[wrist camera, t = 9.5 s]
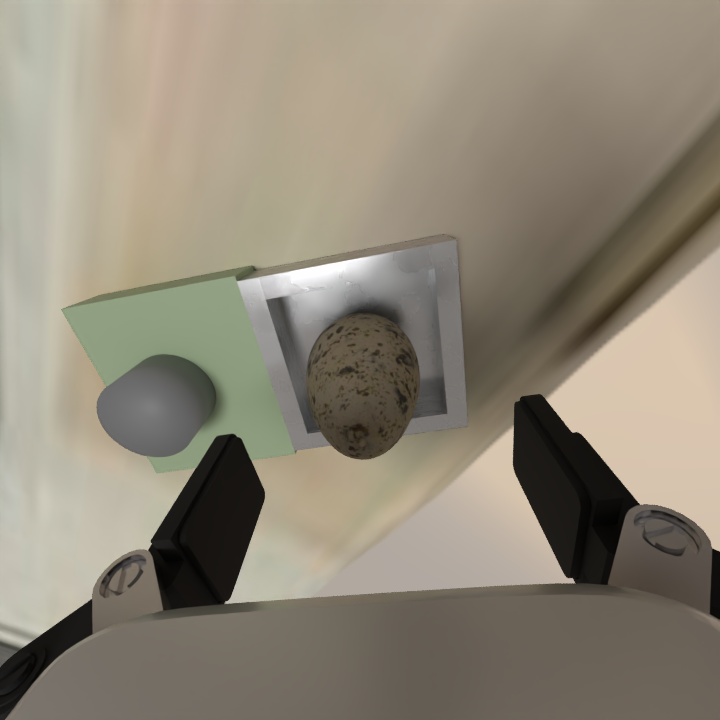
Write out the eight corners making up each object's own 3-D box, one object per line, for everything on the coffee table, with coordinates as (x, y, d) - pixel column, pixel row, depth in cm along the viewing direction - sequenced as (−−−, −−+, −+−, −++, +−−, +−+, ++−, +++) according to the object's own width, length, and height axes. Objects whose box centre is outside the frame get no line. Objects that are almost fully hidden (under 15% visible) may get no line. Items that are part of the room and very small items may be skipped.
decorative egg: (309, 373, 23) (272, 488, 14) (326, 287, 20) (296, 359, 11) (394, 392, 23) (413, 515, 14) (422, 311, 21) (466, 397, 12)
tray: (444, 234, 19) (456, 239, 17) (456, 400, 24) (467, 426, 21) (253, 270, 20) (236, 281, 18) (302, 423, 25) (294, 450, 22)
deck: (252, 265, 20) (211, 289, 15) (303, 426, 25) (286, 488, 20) (99, 294, 21) (8, 328, 16) (178, 445, 26) (129, 509, 21)
